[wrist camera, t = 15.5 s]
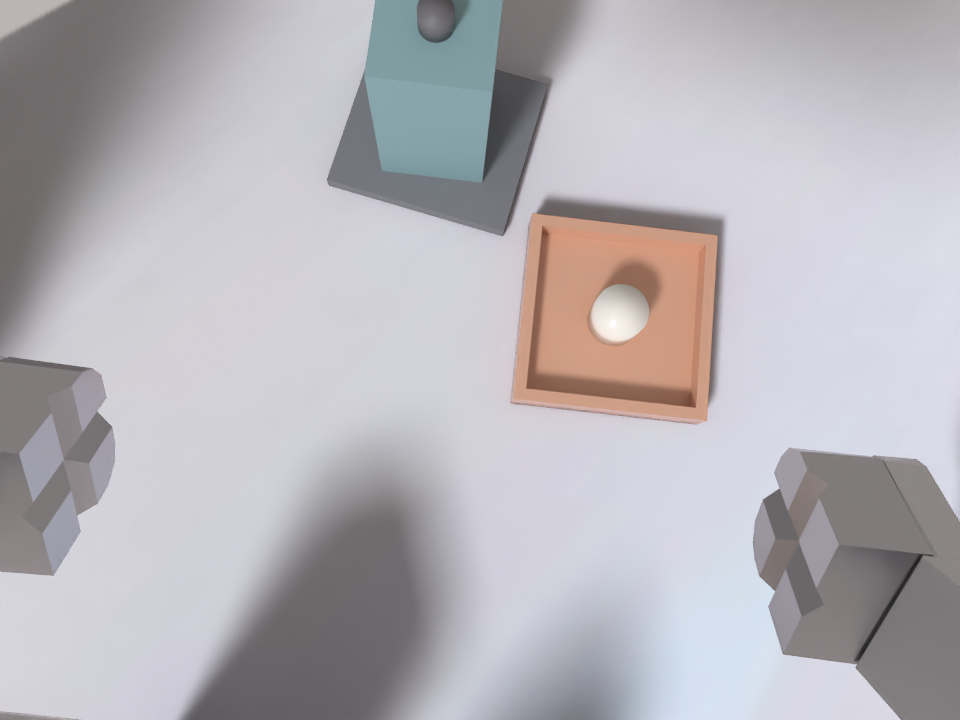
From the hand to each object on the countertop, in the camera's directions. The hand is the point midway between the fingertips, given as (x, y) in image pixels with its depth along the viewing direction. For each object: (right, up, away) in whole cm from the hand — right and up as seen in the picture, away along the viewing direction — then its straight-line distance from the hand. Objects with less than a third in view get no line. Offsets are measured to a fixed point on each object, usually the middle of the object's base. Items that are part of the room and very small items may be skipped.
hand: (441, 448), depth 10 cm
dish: (+8, +3, +35) cm, 36 cm away
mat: (-2, +14, +36) cm, 39 cm away
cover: (-2, +14, +36) cm, 38 cm away
